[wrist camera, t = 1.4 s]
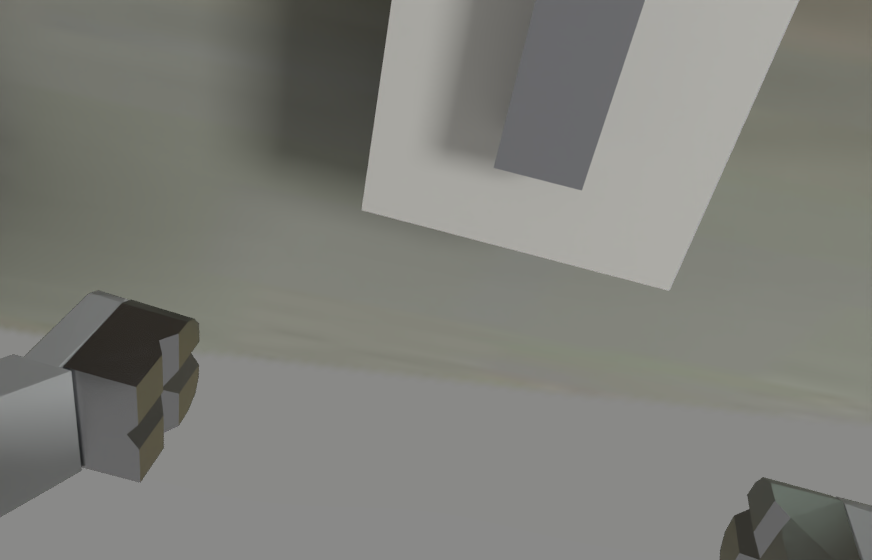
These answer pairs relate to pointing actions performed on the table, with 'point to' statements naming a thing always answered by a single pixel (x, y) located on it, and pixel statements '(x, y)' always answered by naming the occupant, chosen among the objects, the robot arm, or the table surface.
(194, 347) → the robot arm
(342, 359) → the table surface
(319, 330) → the table surface
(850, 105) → the table surface
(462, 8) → the lid
